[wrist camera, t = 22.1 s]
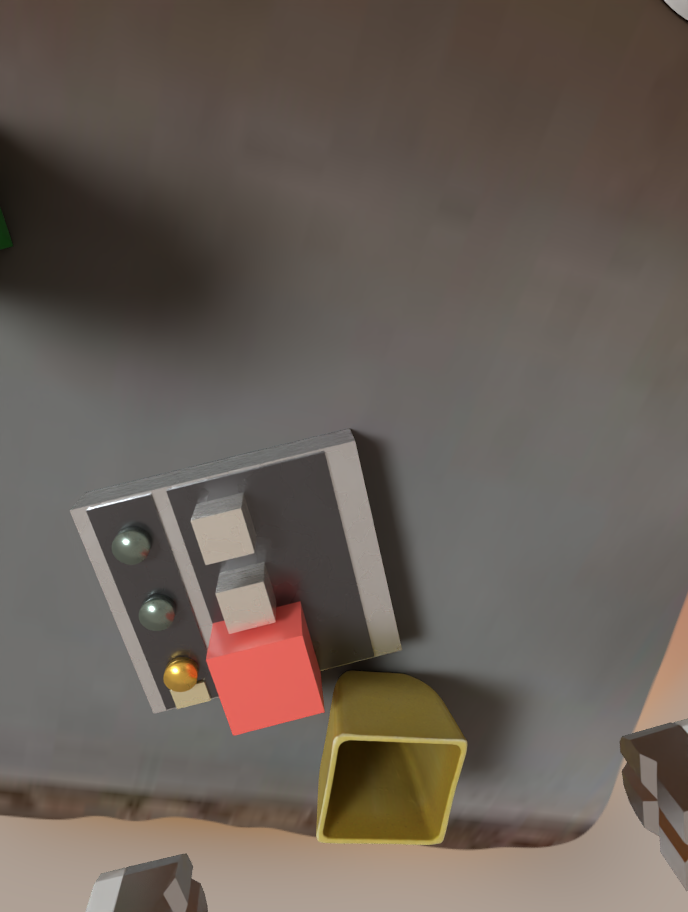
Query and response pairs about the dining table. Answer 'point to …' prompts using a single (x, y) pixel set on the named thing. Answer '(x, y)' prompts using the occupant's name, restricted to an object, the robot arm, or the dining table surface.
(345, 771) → the flower pot
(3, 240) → the milk carton
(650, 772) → the robot arm
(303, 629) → the cap
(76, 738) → the dining table surface
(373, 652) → the breaker panel
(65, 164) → the dining table surface
